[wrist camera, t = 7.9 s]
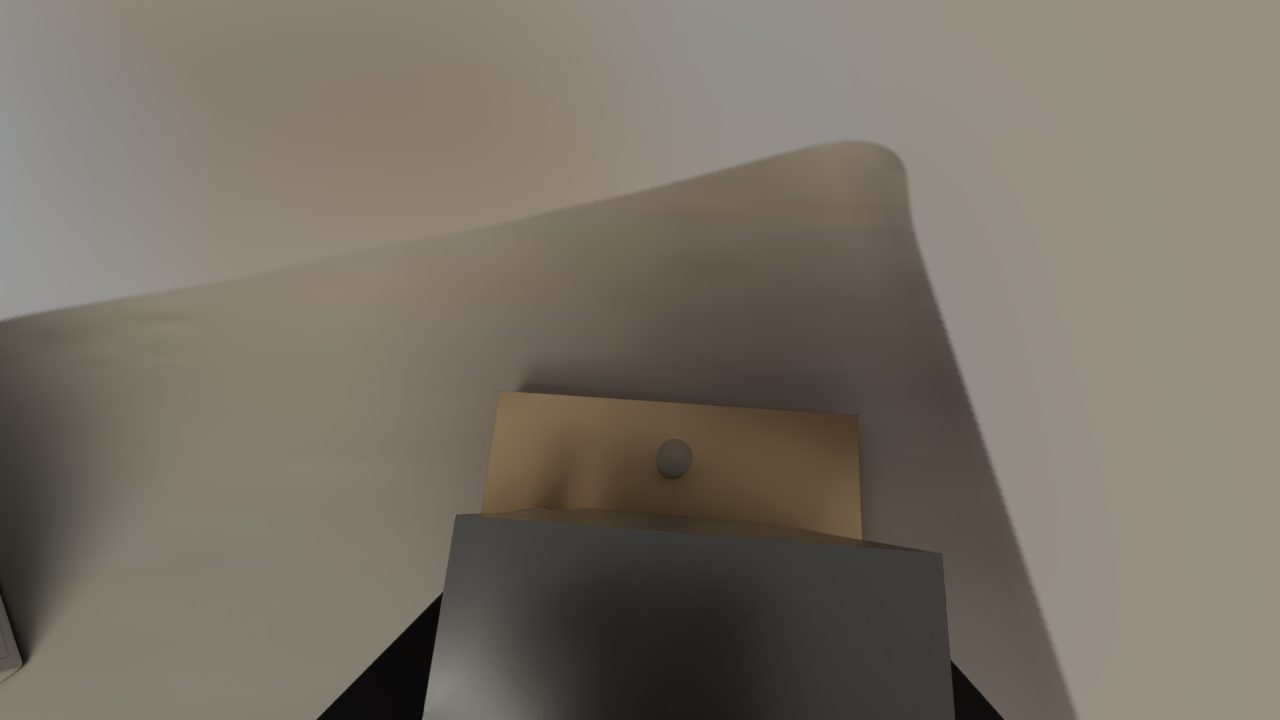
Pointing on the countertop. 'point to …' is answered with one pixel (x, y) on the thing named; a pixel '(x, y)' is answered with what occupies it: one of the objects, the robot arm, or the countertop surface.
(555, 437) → the wooden peg board
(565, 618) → the block
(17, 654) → the light bulb box
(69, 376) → the countertop surface
